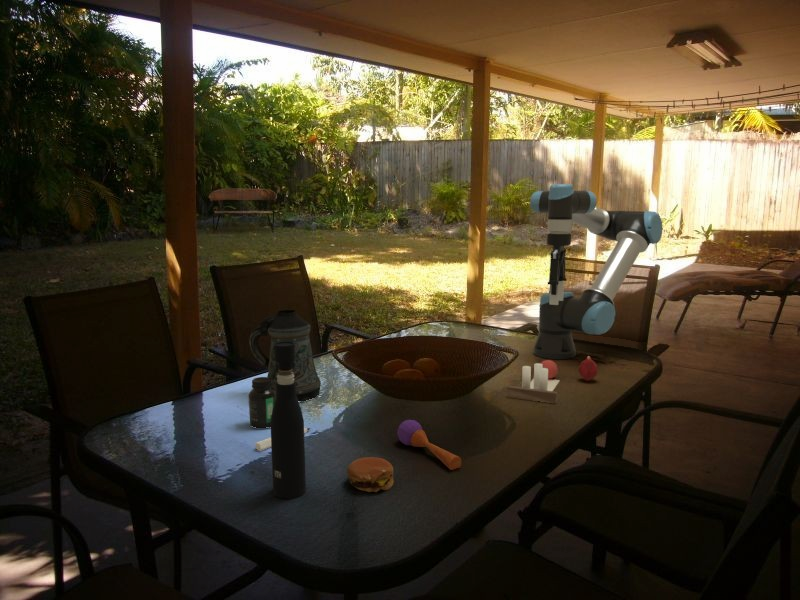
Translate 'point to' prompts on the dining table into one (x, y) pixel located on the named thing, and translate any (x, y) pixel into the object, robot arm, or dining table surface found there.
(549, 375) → the ball
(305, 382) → the beer stein
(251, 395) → the supplement bottle
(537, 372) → the front pin
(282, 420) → the black water bottle
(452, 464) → the maraca
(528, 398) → the backstop
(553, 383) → the cream flat rectangular slab
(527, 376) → the back pin right
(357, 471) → the burger
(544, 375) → the back pin left
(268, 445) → the marker
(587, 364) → the onion
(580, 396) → the dining table surface
